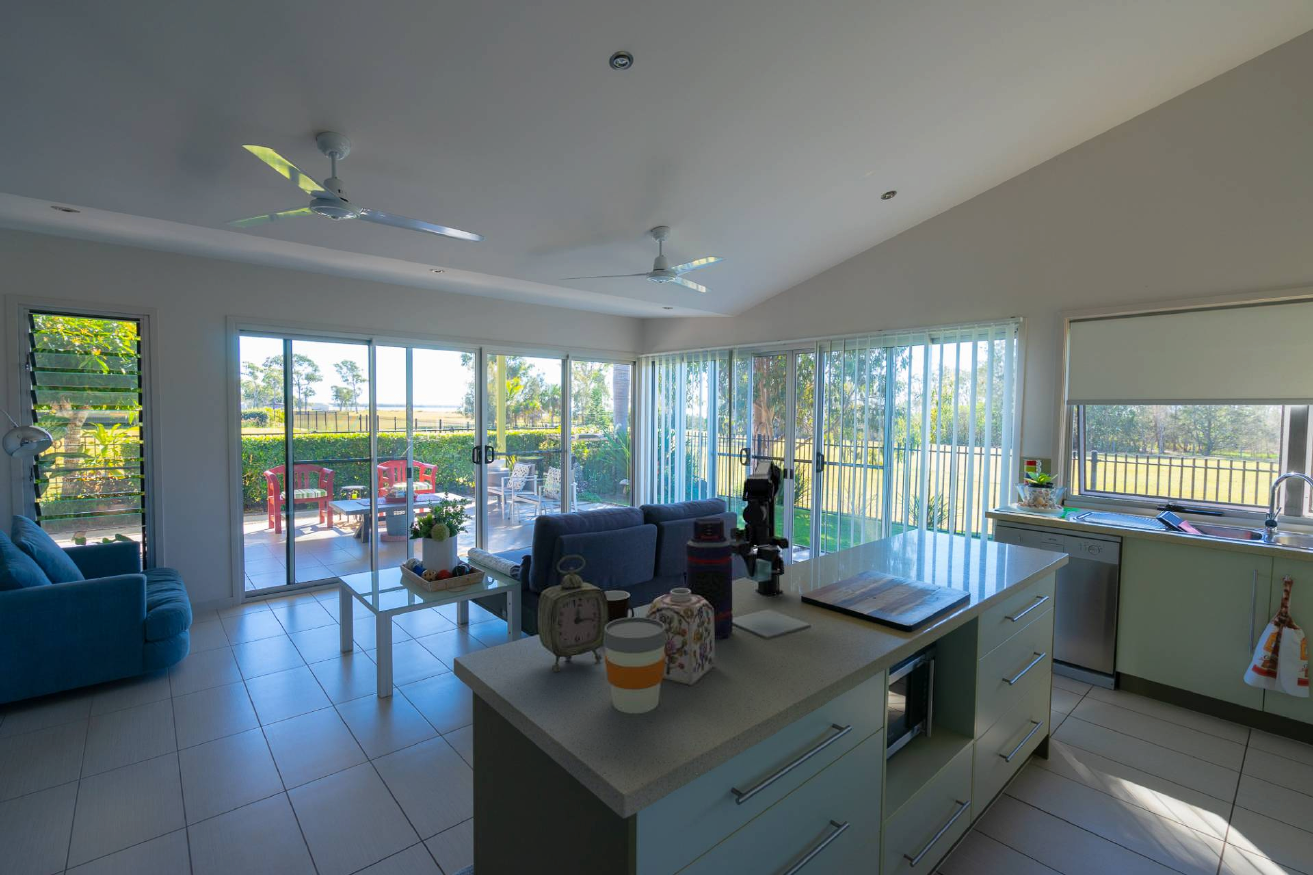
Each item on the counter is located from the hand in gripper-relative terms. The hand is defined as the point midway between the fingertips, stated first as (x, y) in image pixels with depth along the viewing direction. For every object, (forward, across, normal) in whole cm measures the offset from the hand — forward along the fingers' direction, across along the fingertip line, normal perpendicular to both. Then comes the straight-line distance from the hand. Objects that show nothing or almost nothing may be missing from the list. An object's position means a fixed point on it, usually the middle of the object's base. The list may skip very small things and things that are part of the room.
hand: (758, 575), depth 166 cm
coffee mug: (+12, +41, -10) cm, 44 cm away
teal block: (+1, 0, 0) cm, 1 cm away
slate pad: (+12, +3, +6) cm, 14 cm away
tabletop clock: (+13, +58, 0) cm, 59 cm away
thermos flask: (+12, +20, +3) cm, 23 cm away
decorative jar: (+13, +39, +18) cm, 45 cm away
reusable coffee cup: (+13, +55, +25) cm, 62 cm away
